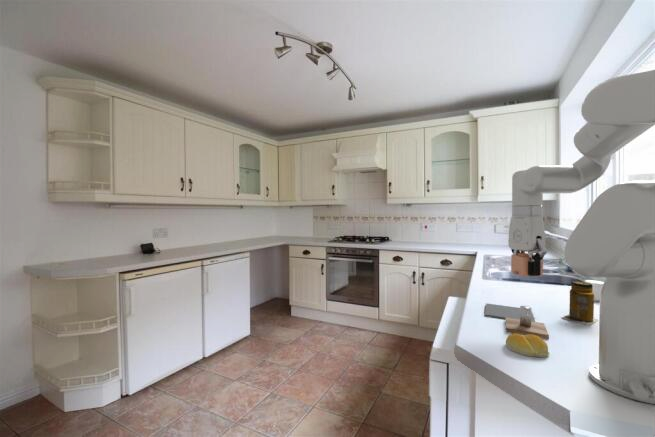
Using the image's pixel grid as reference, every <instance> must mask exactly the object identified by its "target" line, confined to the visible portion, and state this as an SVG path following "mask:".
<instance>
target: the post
mask: <svg viewBox="0 0 655 437" xmlns="http://www.w3.org/2000/svg"><path fill="white" fill-rule="evenodd" d="M519 308H520V325H521V326H523V327H531V311H532V307H531V306H529V305H528V306H527V305H520V306H519Z"/></svg>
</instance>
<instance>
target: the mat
mask: <svg viewBox="0 0 655 437" xmlns="http://www.w3.org/2000/svg"><path fill="white" fill-rule="evenodd" d="M484 311H485V312H484V317H486V318H487V317H488V318H495V319H501V320H506V318H512V319H519V320H520V307H517V306H508V305H502V304H494V303H485V310H484ZM531 321H532V322H536V320H535V317H534V314H533V311H532V310H531Z"/></svg>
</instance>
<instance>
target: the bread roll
mask: <svg viewBox="0 0 655 437" xmlns="http://www.w3.org/2000/svg"><path fill="white" fill-rule="evenodd" d="M505 345H506V347H507V348H508V349H509V350H510V351H512V352H514V353H517V354H519V355H522V356H526V357H536V358H545V357H548V356H549V355H550V352H549V348H548V347H549V346H548V343H547V342H546V341H545V339H543V338H540V337H538V336H536V335H533V334H527V335H521V334H517V333H510V334H509V335H508V336H507V337H506V339H505Z"/></svg>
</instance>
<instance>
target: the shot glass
mask: <svg viewBox="0 0 655 437" xmlns="http://www.w3.org/2000/svg"><path fill="white" fill-rule="evenodd" d="M584 282H587V283H590V284H592V286H593V287H592V288H593V291H592V292H593V293H594V301H598V302H600V293H601V289H602V286H603V284H604V282H605V281H602V280H595V279H585V280H584Z"/></svg>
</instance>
